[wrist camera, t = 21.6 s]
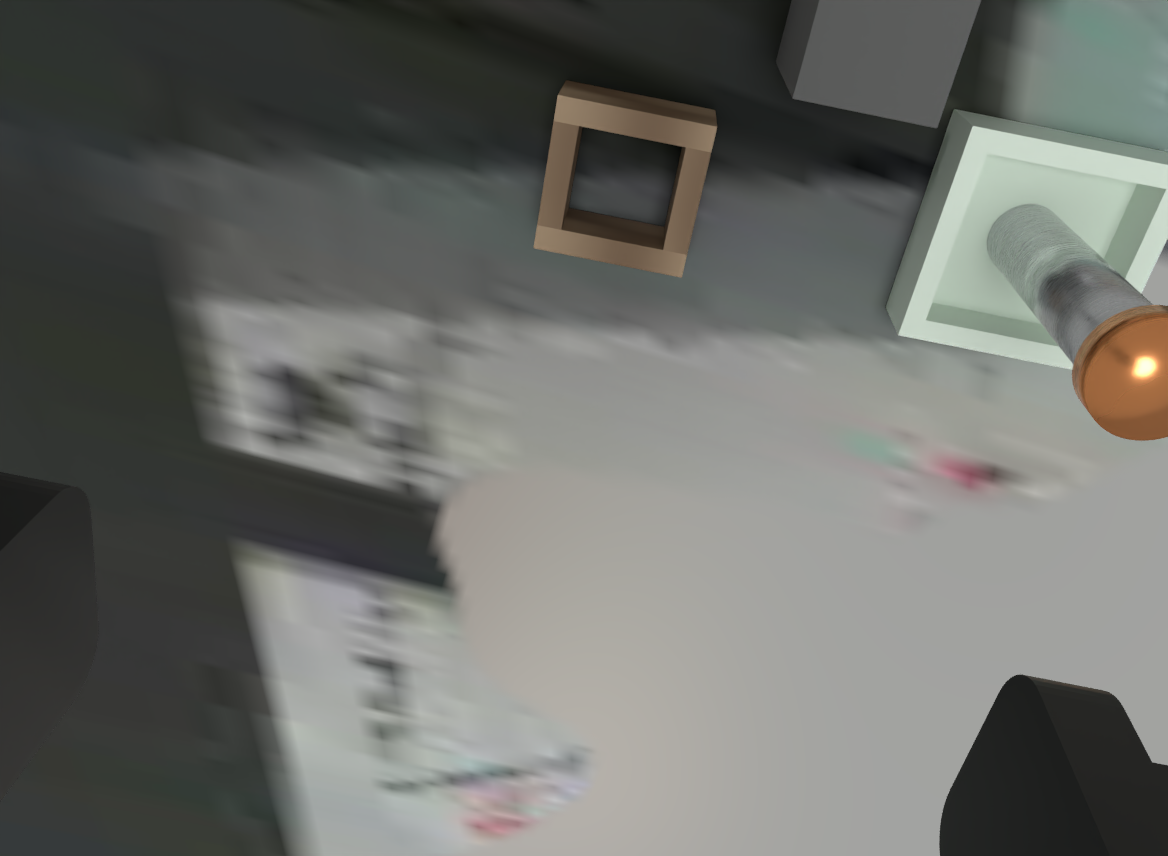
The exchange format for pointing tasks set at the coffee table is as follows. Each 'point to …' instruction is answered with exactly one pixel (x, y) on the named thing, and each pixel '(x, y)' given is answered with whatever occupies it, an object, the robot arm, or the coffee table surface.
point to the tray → (998, 183)
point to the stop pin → (1089, 319)
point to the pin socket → (611, 234)
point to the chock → (876, 54)
